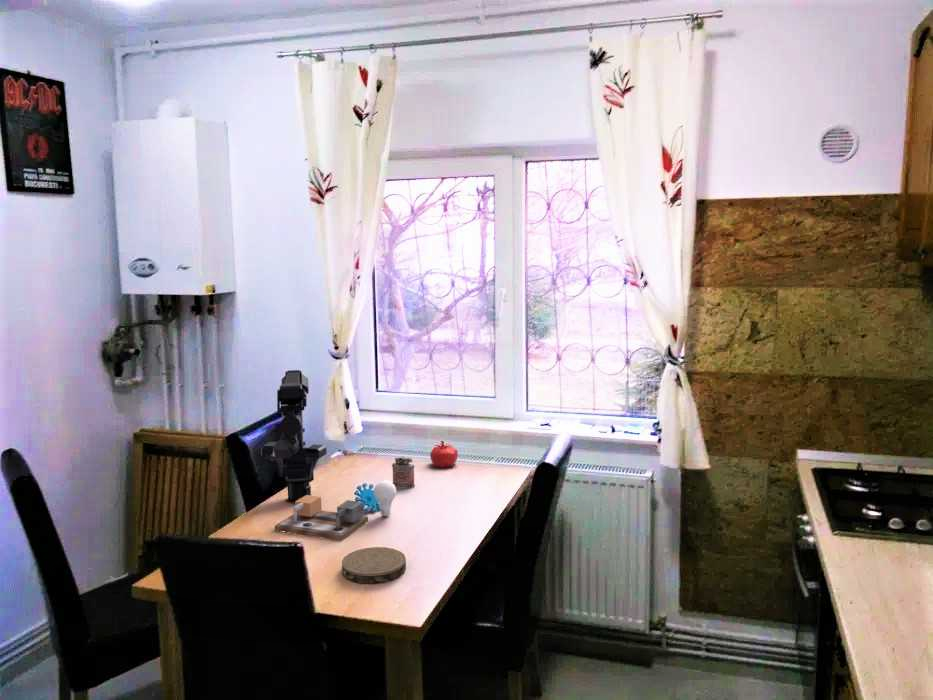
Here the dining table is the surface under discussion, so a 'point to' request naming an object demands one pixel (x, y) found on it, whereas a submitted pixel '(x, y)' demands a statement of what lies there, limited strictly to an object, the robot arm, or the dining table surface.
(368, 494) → the gear
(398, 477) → the flat bottle
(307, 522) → the base
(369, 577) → the brown round disc
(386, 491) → the light bulb
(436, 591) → the dining table surface
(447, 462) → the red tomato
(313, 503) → the sliding jaw
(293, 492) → the robot arm
